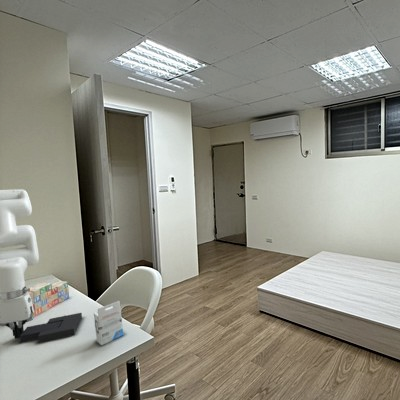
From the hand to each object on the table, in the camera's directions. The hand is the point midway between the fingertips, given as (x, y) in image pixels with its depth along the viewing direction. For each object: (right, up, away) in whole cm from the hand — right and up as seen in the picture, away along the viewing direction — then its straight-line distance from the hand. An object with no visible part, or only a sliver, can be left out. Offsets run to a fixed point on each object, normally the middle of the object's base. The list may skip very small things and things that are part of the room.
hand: (18, 336), depth 108 cm
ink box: (+38, 0, -2) cm, 38 cm away
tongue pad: (+7, 0, +3) cm, 8 cm away
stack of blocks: (-10, +1, +26) cm, 28 cm away
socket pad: (+13, 0, +6) cm, 15 cm away
